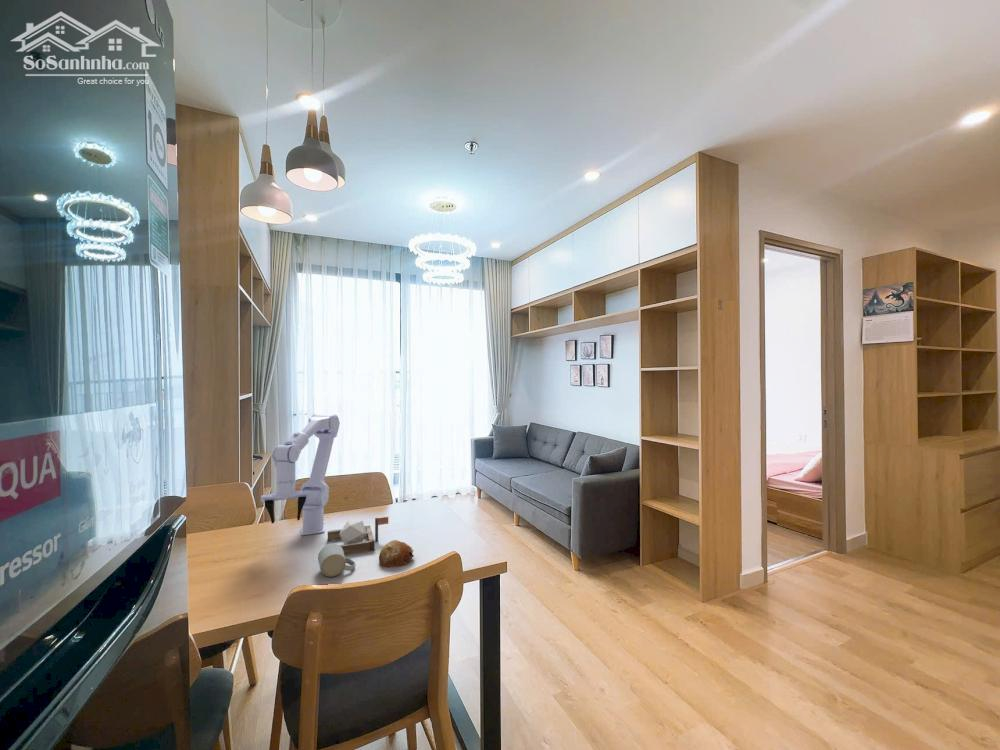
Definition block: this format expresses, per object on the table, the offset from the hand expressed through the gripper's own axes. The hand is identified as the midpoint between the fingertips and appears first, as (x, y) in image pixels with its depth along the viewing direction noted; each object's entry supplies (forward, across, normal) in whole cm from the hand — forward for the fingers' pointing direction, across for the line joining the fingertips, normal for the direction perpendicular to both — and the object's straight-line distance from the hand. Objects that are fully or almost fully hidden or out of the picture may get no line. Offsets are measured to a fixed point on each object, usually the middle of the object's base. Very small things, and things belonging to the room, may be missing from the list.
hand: (286, 520), depth 141 cm
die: (+10, +21, -5) cm, 24 cm away
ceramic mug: (+10, +15, -24) cm, 30 cm away
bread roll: (+10, +33, -23) cm, 42 cm away
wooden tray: (+9, +23, -5) cm, 25 cm away
